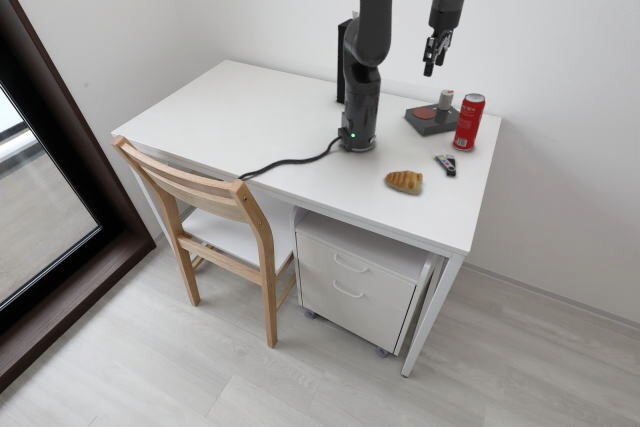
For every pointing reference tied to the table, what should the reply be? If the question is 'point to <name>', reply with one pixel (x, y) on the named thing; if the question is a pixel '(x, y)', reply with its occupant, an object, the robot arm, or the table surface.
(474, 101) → the beverage can
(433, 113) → the burner
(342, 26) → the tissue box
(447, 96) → the hob knob
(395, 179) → the pastry
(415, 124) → the hob
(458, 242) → the table surface
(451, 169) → the usb flash drive
